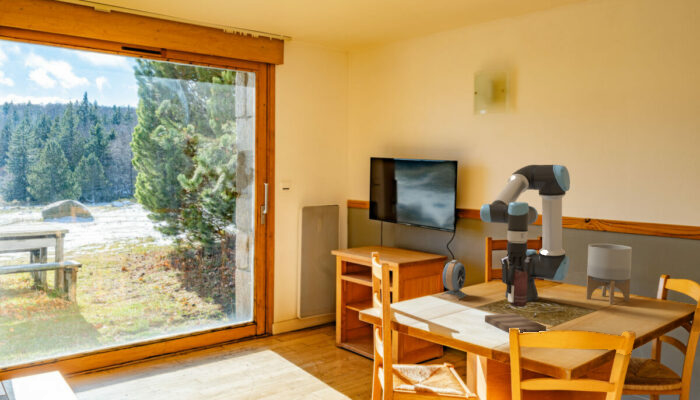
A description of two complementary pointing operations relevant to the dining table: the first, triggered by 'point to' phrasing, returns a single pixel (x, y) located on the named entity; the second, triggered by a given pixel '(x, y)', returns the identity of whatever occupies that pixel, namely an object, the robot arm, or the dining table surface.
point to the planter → (609, 269)
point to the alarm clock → (454, 280)
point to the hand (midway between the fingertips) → (515, 301)
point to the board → (514, 322)
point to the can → (520, 288)
